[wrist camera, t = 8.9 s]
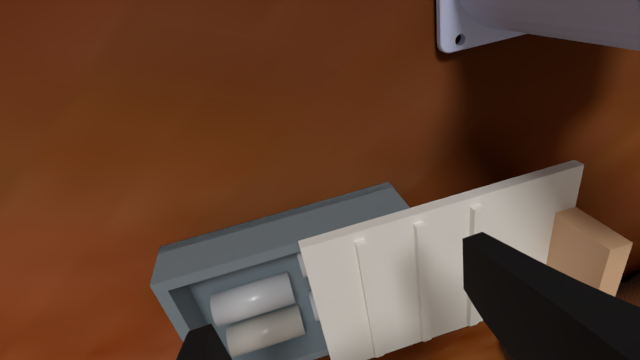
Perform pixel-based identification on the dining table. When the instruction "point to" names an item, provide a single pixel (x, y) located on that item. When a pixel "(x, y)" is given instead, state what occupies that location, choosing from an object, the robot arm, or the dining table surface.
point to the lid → (449, 259)
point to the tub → (259, 277)
